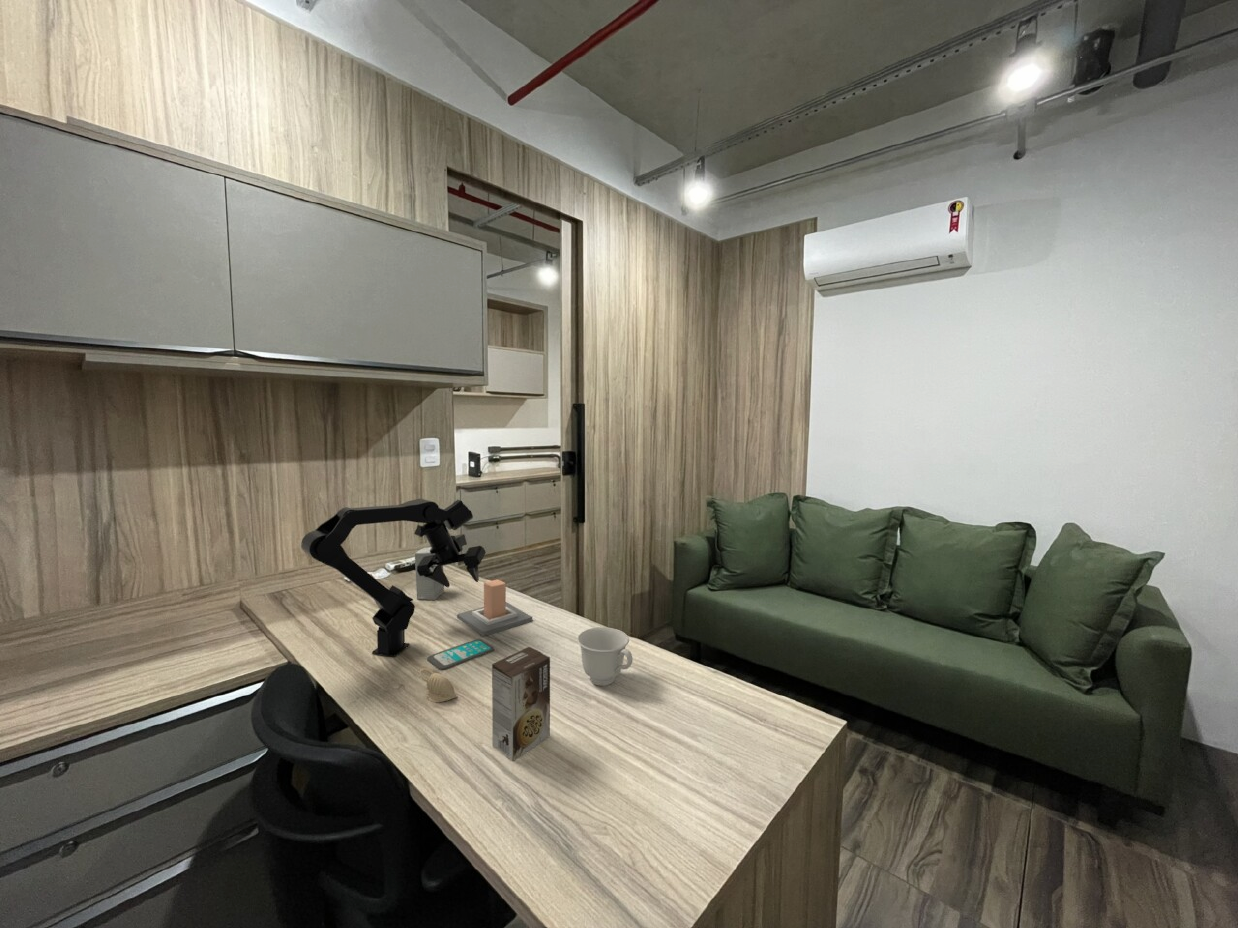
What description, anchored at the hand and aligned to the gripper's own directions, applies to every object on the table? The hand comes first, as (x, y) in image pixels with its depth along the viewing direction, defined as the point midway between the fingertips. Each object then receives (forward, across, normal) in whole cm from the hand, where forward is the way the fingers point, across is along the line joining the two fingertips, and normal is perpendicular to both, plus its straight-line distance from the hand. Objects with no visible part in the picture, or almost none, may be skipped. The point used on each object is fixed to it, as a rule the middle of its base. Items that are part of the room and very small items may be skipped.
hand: (463, 583), depth 138 cm
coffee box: (+3, -30, +48) cm, 57 cm away
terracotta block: (+14, -4, -1) cm, 15 cm away
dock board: (+15, -4, 0) cm, 16 cm away
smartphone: (+8, -4, +20) cm, 22 cm away
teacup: (+14, -41, +28) cm, 52 cm away
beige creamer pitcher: (+2, -8, +37) cm, 37 cm away
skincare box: (+14, +24, -15) cm, 32 cm away
